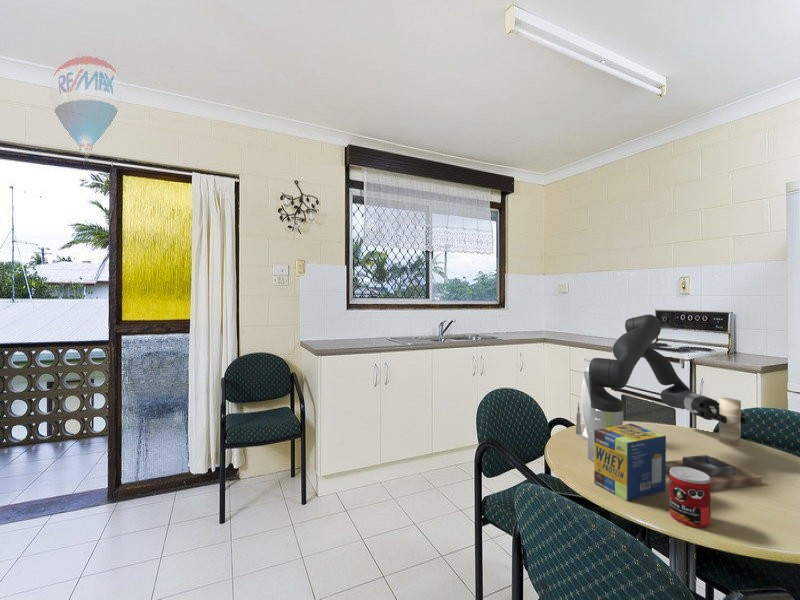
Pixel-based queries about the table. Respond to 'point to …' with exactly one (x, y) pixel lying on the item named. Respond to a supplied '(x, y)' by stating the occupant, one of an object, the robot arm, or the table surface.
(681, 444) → the table surface
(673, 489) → the canned food
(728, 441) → the birch column
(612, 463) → the protein box
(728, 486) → the base board
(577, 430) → the skyscraper
